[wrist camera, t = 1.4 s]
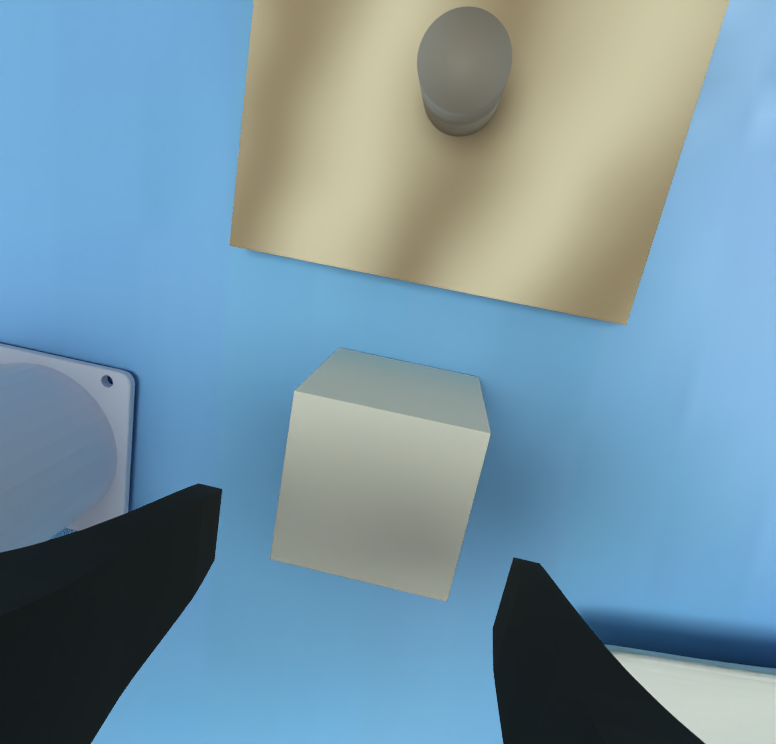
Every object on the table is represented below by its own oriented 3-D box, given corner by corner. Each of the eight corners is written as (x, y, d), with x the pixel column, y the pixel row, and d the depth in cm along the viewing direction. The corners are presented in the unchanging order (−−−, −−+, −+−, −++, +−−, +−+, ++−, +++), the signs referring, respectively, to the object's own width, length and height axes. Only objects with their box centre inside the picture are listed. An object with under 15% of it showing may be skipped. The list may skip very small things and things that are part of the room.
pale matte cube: (318, 473, 22) (270, 559, 16) (338, 347, 20) (294, 390, 14) (447, 503, 21) (447, 601, 15) (478, 377, 20) (490, 433, 14)
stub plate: (245, 245, 19) (184, 246, 15) (286, -134, 16) (224, -279, 12) (612, 318, 19) (664, 343, 14) (732, -68, 15) (849, -197, 11)
